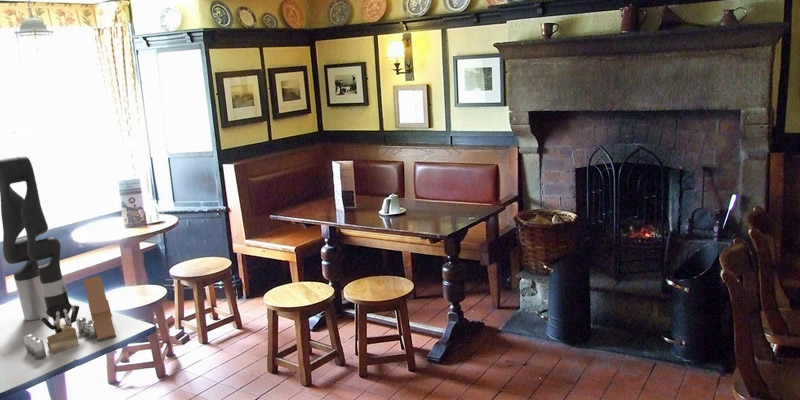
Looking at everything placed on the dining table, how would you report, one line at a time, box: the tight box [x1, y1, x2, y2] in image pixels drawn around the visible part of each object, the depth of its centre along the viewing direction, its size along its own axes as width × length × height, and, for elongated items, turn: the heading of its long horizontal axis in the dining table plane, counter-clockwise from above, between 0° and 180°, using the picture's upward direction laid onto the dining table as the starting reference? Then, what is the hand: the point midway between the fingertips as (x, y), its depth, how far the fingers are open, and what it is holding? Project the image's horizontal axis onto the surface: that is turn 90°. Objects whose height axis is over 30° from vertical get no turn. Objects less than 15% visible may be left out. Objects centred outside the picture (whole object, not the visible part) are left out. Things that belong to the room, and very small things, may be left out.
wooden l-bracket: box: [46, 320, 79, 355], centre depth 236 cm, size 14×9×6 cm, turn 47°
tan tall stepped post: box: [82, 275, 117, 342], centre depth 247 cm, size 7×23×25 cm
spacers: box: [23, 316, 98, 361], centre depth 236 cm, size 14×22×6 cm, turn 137°
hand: (65, 336), depth 239 cm, fingers closed on wooden l-bracket, 2 cm apart
